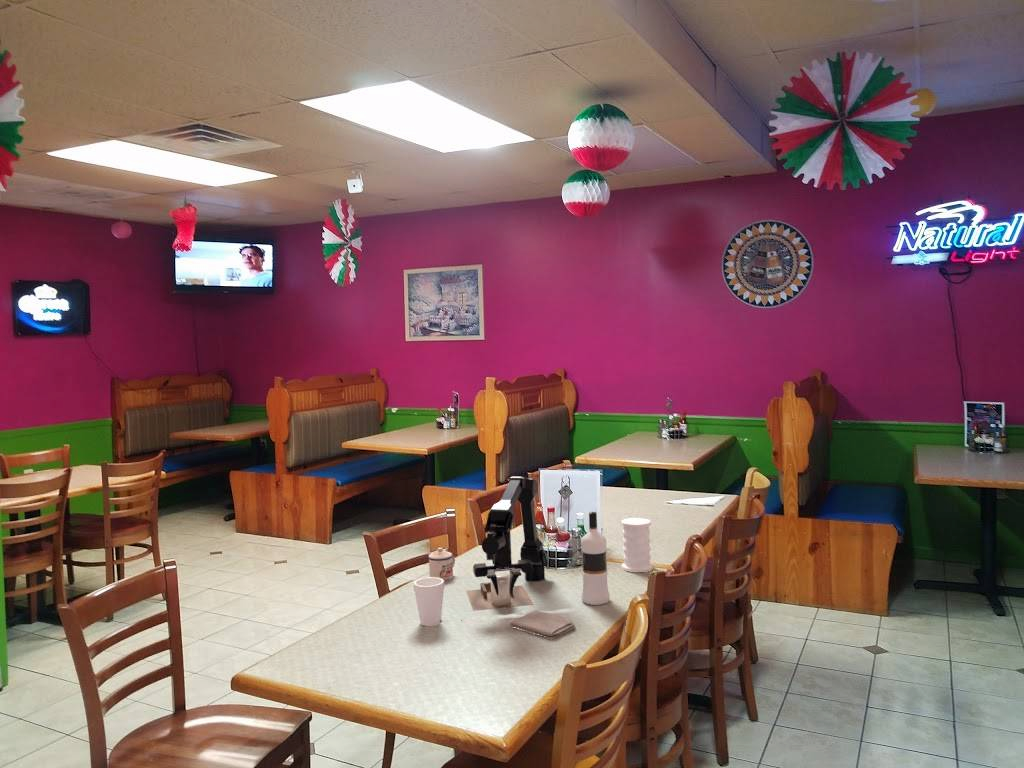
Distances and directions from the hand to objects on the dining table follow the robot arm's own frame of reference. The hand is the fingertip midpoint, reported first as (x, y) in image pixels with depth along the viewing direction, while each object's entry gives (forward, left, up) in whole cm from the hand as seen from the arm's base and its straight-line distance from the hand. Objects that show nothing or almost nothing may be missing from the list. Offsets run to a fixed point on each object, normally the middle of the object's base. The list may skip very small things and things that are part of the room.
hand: (503, 594), depth 245 cm
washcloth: (-9, +16, -7) cm, 19 cm away
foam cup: (+24, +2, -6) cm, 25 cm away
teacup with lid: (+16, -42, -6) cm, 45 cm away
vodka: (-31, -2, -6) cm, 32 cm away
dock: (0, -12, -6) cm, 13 cm away
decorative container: (-56, -32, -6) cm, 65 cm away
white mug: (0, -5, -5) cm, 7 cm away
